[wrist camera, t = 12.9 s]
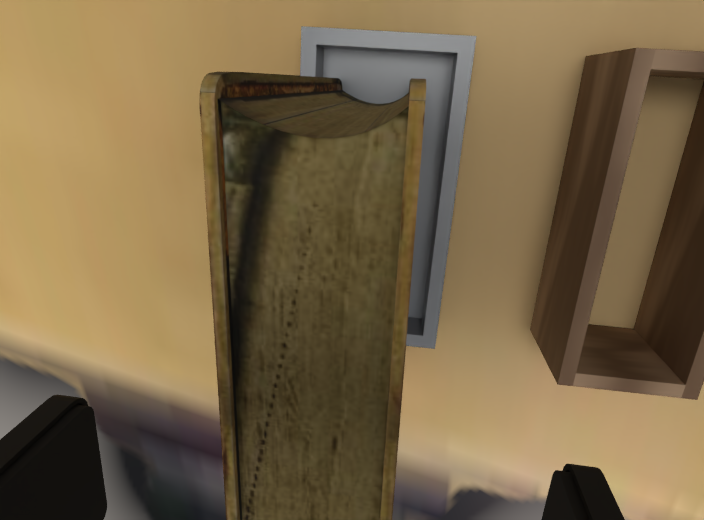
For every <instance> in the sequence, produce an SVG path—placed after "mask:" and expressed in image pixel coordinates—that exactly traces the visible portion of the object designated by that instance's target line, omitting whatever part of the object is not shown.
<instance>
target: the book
mask: <svg viewBox="0 0 704 520" xmlns="http://www.w3.org/2000/svg"><path fill="white" fill-rule="evenodd" d="M425 101H426V79H414V78H411V80H410V83H409V93H408V94H406V95H405V96H404V97H402V98H400V99H398V100H396V101H394V102H391V103H385V104H374V103H369V102H365V101H362V100H359V99H357V98H355V97H353V96H351V95H349V94H348V93H346V92H344V91H343V90H342V82H341V80H340V79H339V78H328V77H311V76H294V75H278V74H261V73H245V72H214V73H209V74H207V75H206V76H205V77H204V79H203V81H202V84H201V89H200V117H201V132H202V147H203V163H204V178H205V194H206V209H207V225H208V240H209V256H210V271H211V287H212V302H213V318H214V334H215V349H216V365H217V380H218V396H219V411H220V427H221V443H222V458H223V474H224V489H225V505H226V520H392V513H393V500H394V488H395V475H396V463H397V451H398V438H399V426H400V413H401V401H402V388H403V376H404V364H405V351H406V339H407V326H408V314H409V301H410V289H411V276H412V264H413V252H414V239H415V227H416V214H417V202H418V189H419V177H420V165H421V152H422V140H423V127H424V115H425Z"/></svg>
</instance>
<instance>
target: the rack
mask: <svg viewBox="0 0 704 520" xmlns="http://www.w3.org/2000/svg"><path fill="white" fill-rule="evenodd" d="M649 76H660V77H677V78H693V79H704V52H700V51H682V50H665V49H647V48H633V49H627V50H621V51H615V52H609V53H603V54H597V55H591V56H586V59H585V64H584V69H583V74H582V79H581V84H580V89H579V94H578V99H577V104H576V109H575V113H574V118H573V123H572V128H571V133H570V138H569V143H568V148H567V153H566V158H565V163H564V167H563V172H562V177H561V182H560V187H559V192H558V197H557V202H556V207H555V212H554V217H553V221H552V226H551V231H550V236H549V241H548V246H547V251H546V256H545V261H544V266H543V271H542V275H541V280H540V285H539V290H538V295H537V300H536V305H535V310H534V315H533V320H532V325H531V329H530V330H531V332H532V334H533V336H534V338H535V340H536V342H537V344H538V346H539V348H540V350H541V352H542V354H543V356H544V358H545V360H546V362H547V364H548V366H549V368H550V370H551V372H552V374H553V376H554V378H555V380H556V382H557V384H559V385H568V386H577V387H586V388H595V389H604V390H613V391H622V392H631V393H640V394H649V395H658V396H667V397H676V398H685V399H695V400H697V399H698V396H699V393H700V390H701V387H702V385H703V382H704V82H703V86H702V89H701V93H700V97H699V100H698V104H697V107H696V111H695V114H694V118H693V121H692V125H691V128H690V132H689V135H688V139H687V143H686V146H685V150H684V153H683V157H682V160H681V164H680V167H679V171H678V174H677V178H676V182H675V185H674V189H673V192H672V196H671V199H670V203H669V206H668V210H667V213H666V217H665V221H664V224H663V228H662V231H661V235H660V238H659V242H658V245H657V249H656V252H655V256H654V260H653V263H652V267H651V270H650V274H649V277H648V281H647V284H646V288H645V291H644V295H643V299H642V302H641V306H640V309H639V313H638V316H637V320H636V323H635V327H634V329H628V328H618V327H608V326H598V325H588V322H589V318H590V314H591V310H592V306H593V302H594V298H595V294H596V290H597V286H598V282H599V278H600V274H601V270H602V266H603V262H604V258H605V253H606V249H607V245H608V241H609V237H610V233H611V229H612V225H613V221H614V217H615V213H616V209H617V205H618V201H619V197H620V193H621V189H622V184H623V180H624V176H625V172H626V168H627V164H628V160H629V156H630V152H631V148H632V144H633V140H634V136H635V132H636V128H637V124H638V120H639V116H640V111H641V107H642V103H643V99H644V95H645V91H646V87H647V83H648V79H649Z"/></svg>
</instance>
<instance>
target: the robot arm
mask: <svg viewBox="0 0 704 520" xmlns="http://www.w3.org/2000/svg"><path fill="white" fill-rule="evenodd" d="M106 510H107V500H106V493H105V486H104V479H103V472H102V465H101V458H100V451H99V444H98V437H97V430H96V423H95V416H94V411H93V409H92V407H89V406H88V404H87V401H86V400H85V399H83V398H78V397H71V396H63V395H54V396H52V397H51V398H49V399H48V400H46V401H45V402H44V403H43V404H42V405H40V406H39V407H38V408H37V409H36V410H35V411H33V412H32V413H31V414H30V415H29V416H28V417H27V418H25V419H24V420H23V421H22V422H21V423H19V424H18V425H17V426H16V427H15V428H13V429H12V430H11V431H10V432H9V433H8V434H6V435H5V436H4V437H3V438H2V439H1V440H0V520H103V519H104V517H105V514H106ZM542 520H625V519H624V517H623V515H622V513H621V511H620V509H619V507H618V505H617V502H616V500H615V498H614V496H613V494H612V492H611V490H610V487H609V485H608V483H607V481H606V479H605V477H604V475H603V473H602V471H601V470H600V469H599V468H596V467H588V466H581V465H574V464H566V465H565V466H564V468H563V471H558V470H556V471H555V472H554V473H553V476H552V480H551V484H550V488H549V492H548V496H547V500H546V504H545V508H544V512H543V516H542Z"/></svg>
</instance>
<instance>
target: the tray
mask: <svg viewBox="0 0 704 520" xmlns="http://www.w3.org/2000/svg"><path fill="white" fill-rule="evenodd" d="M475 43H476V36H464V35H446V34H428V33H410V32H392V31H374V30H356V29H339V28H321V27H303V26H301V68H300V76H311V77H328V78H339V79H340V80H341V82H342V90H343V91H344V92H346V93H348V94H349V95H351V96H353V97H355V98H357V99H359V100H362V101H365V102H369V103H374V104H385V103H391V102H394V101H396V100H398V99H400V98H402V97H404V96H405V95H406V94H408V93H409V83H410V80H411V78H414V79H426V101H425V115H424V127H423V140H422V152H421V165H420V177H419V189H418V202H417V214H416V227H415V239H414V252H413V264H412V276H411V289H410V301H409V314H408V326H407V339H406V346H414V347H423V348H432V349H435V344H436V336H437V329H438V321H439V314H440V306H441V299H442V291H443V284H444V276H445V269H446V261H447V254H448V246H449V239H450V231H451V223H452V216H453V208H454V201H455V193H456V186H457V178H458V171H459V163H460V156H461V148H462V141H463V133H464V126H465V118H466V111H467V103H468V96H469V88H470V81H471V73H472V65H473V58H474V50H475Z"/></svg>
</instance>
